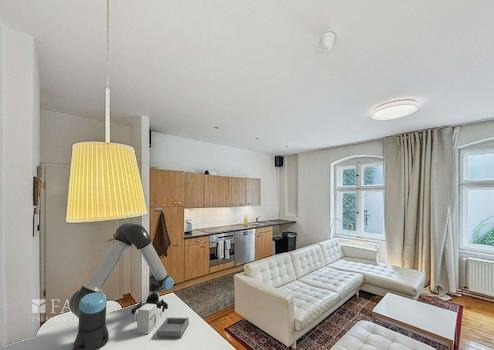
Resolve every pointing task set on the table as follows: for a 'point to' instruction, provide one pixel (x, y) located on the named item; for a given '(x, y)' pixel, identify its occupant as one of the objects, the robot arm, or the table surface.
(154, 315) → the supplement box
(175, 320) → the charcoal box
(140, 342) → the table surface
